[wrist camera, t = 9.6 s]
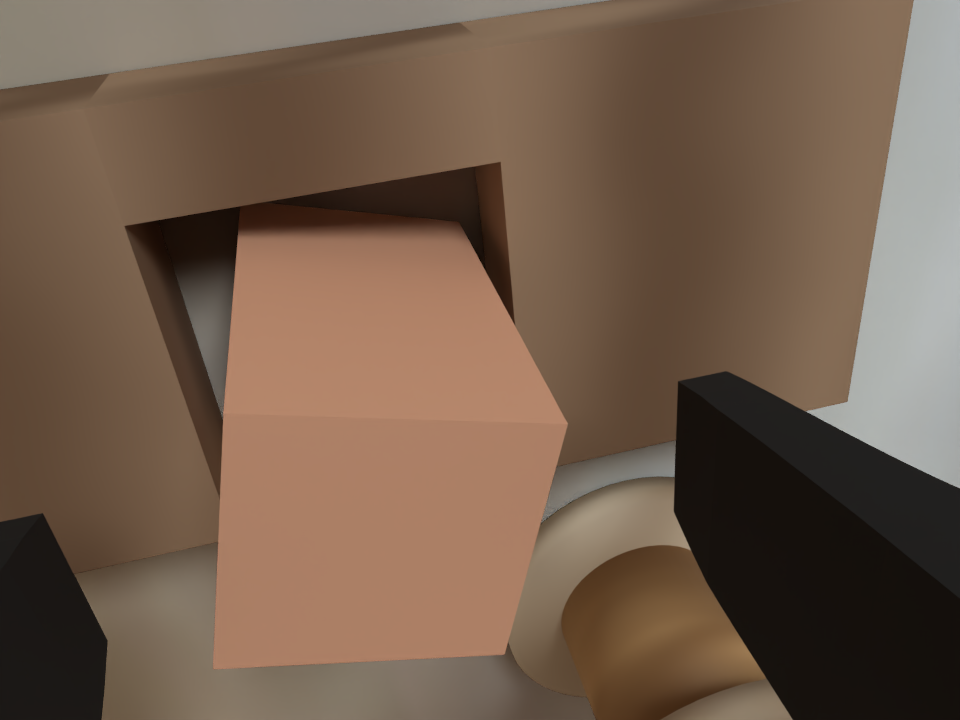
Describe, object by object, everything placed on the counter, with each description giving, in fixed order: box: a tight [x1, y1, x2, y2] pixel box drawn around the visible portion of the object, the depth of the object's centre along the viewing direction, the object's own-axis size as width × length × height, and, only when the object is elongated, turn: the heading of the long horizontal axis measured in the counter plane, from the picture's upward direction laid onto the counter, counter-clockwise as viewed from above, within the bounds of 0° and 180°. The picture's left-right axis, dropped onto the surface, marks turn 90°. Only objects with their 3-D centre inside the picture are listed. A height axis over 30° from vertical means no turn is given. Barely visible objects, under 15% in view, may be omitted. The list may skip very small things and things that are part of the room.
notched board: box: [0, 0, 914, 574], centre depth 13 cm, size 15×7×2 cm, turn 96°
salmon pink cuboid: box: [213, 203, 568, 669], centre depth 12 cm, size 4×4×6 cm
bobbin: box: [508, 477, 793, 720], centre depth 17 cm, size 6×6×6 cm
